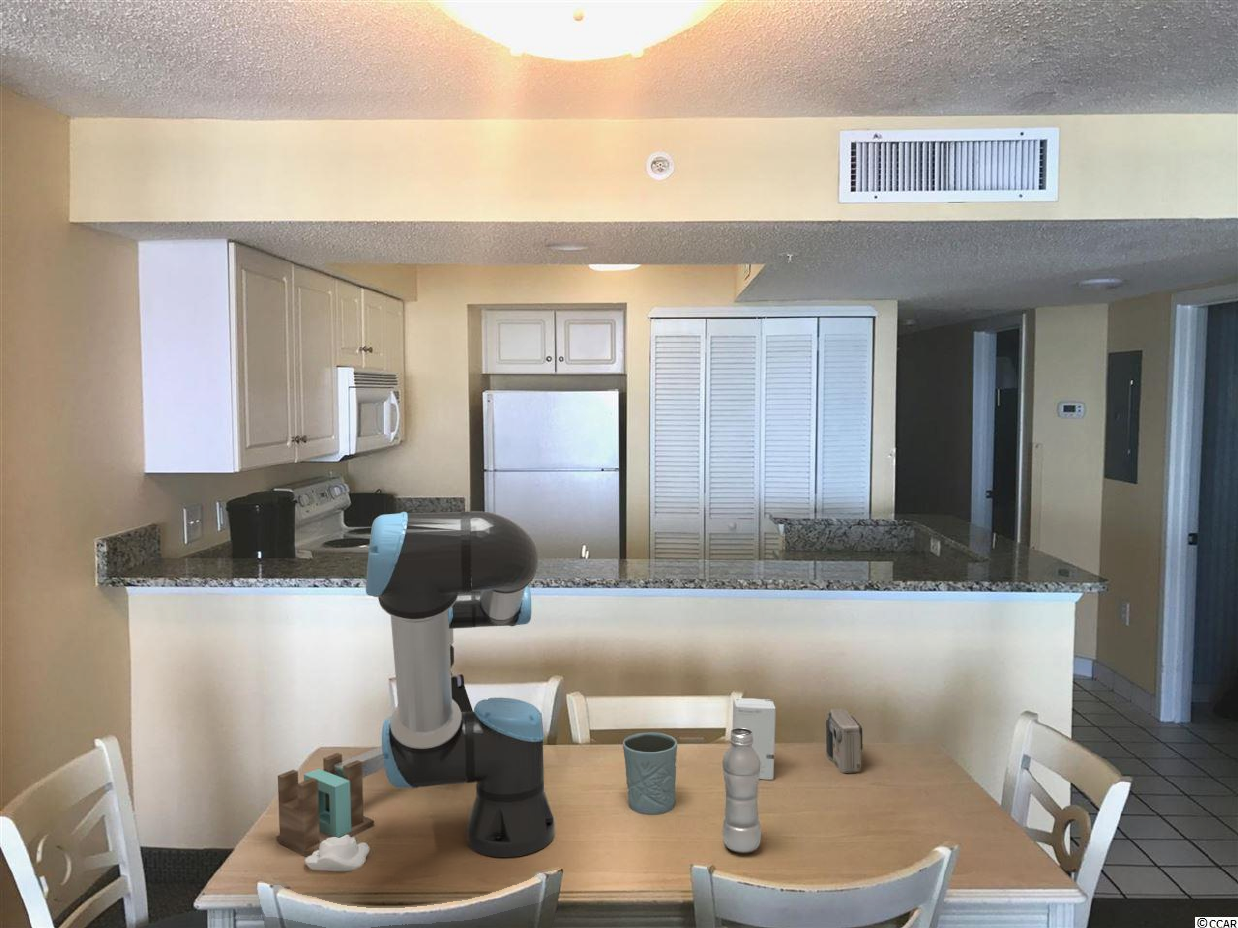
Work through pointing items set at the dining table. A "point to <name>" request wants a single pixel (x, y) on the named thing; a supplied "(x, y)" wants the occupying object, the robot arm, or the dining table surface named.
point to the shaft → (364, 763)
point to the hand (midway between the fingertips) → (436, 751)
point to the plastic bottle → (741, 793)
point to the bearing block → (315, 807)
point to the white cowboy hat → (338, 855)
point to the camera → (844, 741)
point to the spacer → (333, 802)
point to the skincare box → (758, 729)
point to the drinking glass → (650, 772)
